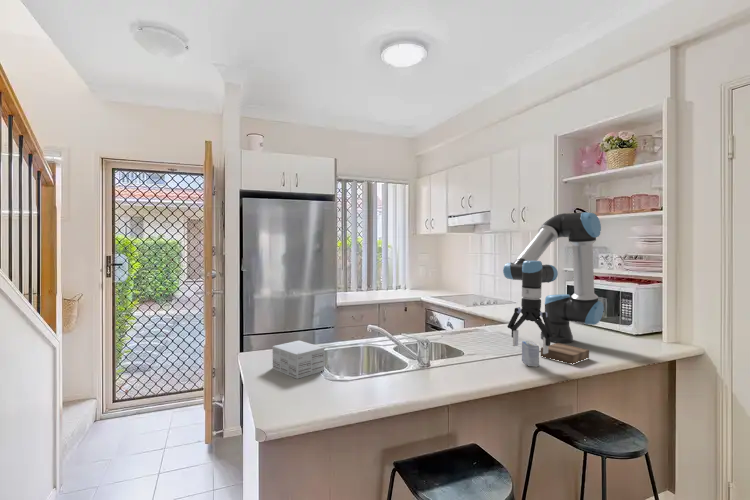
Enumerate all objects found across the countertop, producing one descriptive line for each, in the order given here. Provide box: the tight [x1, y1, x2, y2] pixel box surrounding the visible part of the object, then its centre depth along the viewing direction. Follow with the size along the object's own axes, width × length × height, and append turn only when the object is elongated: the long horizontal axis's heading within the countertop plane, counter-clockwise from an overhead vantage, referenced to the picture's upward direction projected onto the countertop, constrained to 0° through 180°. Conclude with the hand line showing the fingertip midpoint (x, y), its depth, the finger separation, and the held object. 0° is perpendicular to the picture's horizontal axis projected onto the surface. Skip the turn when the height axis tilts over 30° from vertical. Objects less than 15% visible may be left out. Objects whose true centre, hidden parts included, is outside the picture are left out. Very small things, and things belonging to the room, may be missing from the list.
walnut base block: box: [540, 342, 590, 364], centre depth 172 cm, size 14×14×4 cm
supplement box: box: [272, 340, 325, 380], centre depth 155 cm, size 17×13×9 cm
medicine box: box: [521, 340, 540, 367], centre depth 163 cm, size 8×4×9 cm, turn 179°
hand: (530, 349), depth 163 cm, fingers open, 13 cm apart
